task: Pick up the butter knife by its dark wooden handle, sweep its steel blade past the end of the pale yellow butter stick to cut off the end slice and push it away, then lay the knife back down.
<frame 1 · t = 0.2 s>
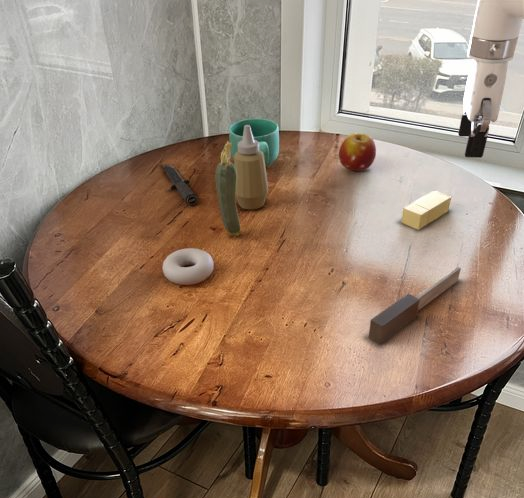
hand: (469, 146, 104), 17 cm above the table, tool pointing down, fingers open, 9 cm apart
knife: (178, 185, 135), on the table
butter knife: (410, 314, 94), on the table
butter: (429, 214, 119), on the table
fruit: (355, 168, 137), on the table
butter slice: (413, 223, 116), on the table
mug: (256, 167, 140), on the table
vegetable: (231, 235, 116), on the table
squeeze bottle: (251, 205, 126), on the table
donut: (189, 274, 106), on the table
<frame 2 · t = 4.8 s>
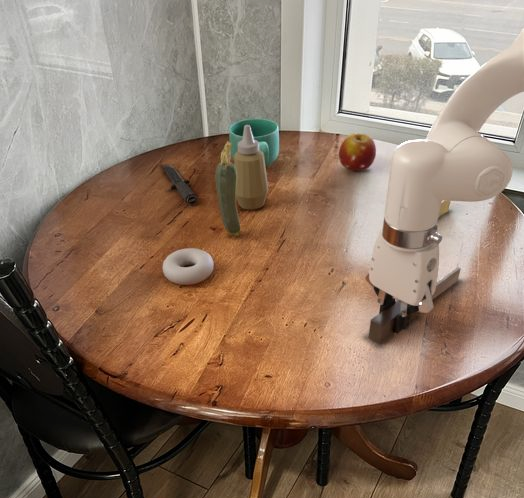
hand: (393, 324, 92), 1 cm above the table, tool pointing down, fingers closed on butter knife, 2 cm apart
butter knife: (410, 314, 94), on the table, touching gripper
everything else where it was.
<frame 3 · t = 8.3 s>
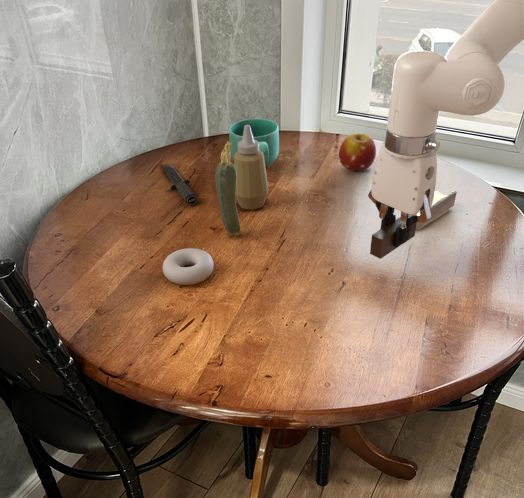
hand: (393, 240, 98), 8 cm above the table, tool pointing down, fingers closed on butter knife, 2 cm apart
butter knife: (409, 233, 101), point 7 cm above the table, touching gripper
everything else where it was.
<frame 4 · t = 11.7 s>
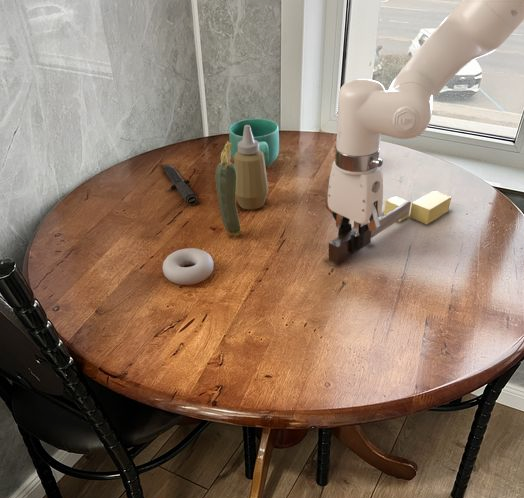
hand: (349, 246, 108), 2 cm above the table, tool pointing down, fingers closed on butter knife, 2 cm apart
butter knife: (366, 240, 111), point 1 cm above the table, touching butter slice, gripper
butter slice: (396, 215, 119), on the table, touching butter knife
everything else where it was.
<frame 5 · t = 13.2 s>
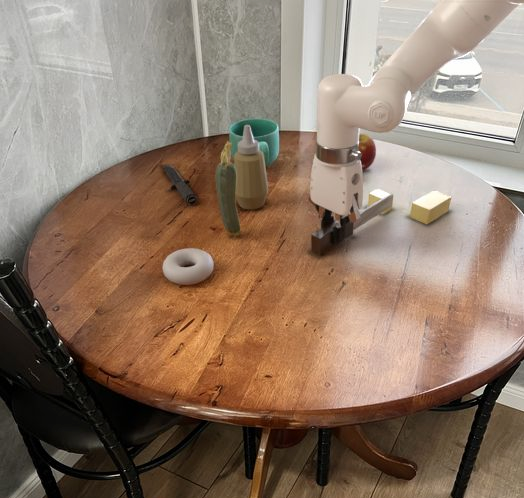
hand: (332, 238, 110), 2 cm above the table, tool pointing down, fingers closed on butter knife, 2 cm apart
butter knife: (348, 232, 113), point 1 cm above the table, touching butter slice, gripper
butter slice: (379, 208, 122), on the table, touching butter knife
everything else where it was.
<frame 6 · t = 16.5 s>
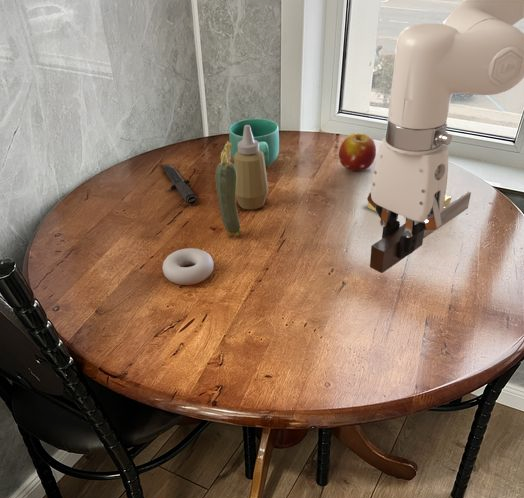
hand: (397, 250, 84), 14 cm above the table, tool pointing down, fingers closed on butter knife, 2 cm apart
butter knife: (416, 242, 87), point 13 cm above the table, touching gripper
butter slice: (379, 208, 122), on the table
everything else where it was.
when the fingers open (1 cm above the table, at t = 19.6 s): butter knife stays where it is, on the table.
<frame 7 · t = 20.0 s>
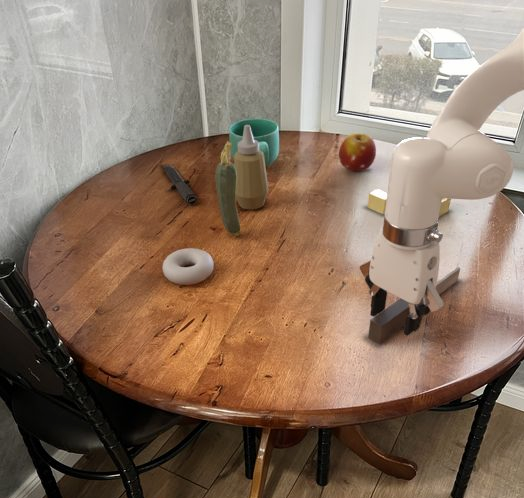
hand: (393, 321, 91), 1 cm above the table, tool pointing down, fingers open, 6 cm apart
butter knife: (410, 314, 94), on the table
everything else where it was.
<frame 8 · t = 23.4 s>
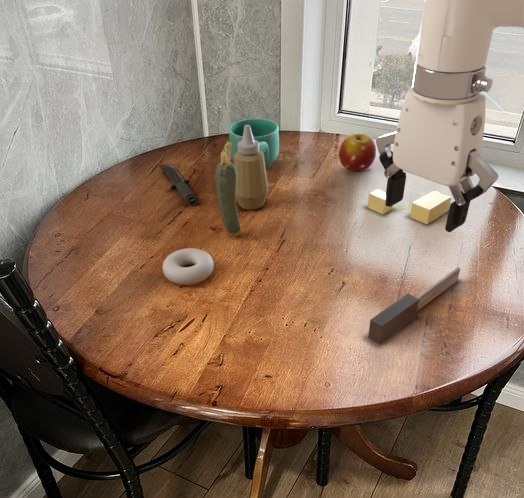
hand: (422, 215, 73), 23 cm above the table, tool pointing down, fingers open, 9 cm apart
nothing on the table moved.
at the end: butter slice moved 9.4 cm from its start; butter moved 0.0 cm from its start; the gripper is holding nothing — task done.
